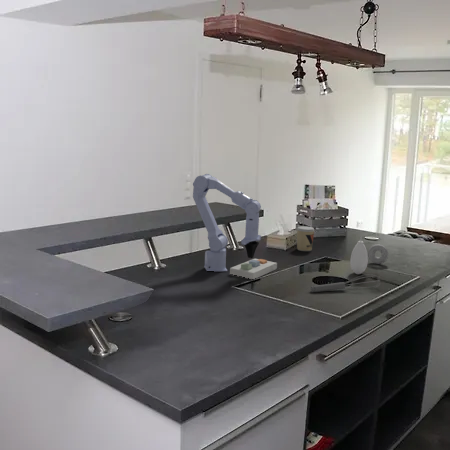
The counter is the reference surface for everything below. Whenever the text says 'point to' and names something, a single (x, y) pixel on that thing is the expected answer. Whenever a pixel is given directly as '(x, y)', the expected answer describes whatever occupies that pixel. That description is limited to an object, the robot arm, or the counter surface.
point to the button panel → (254, 270)
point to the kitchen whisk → (337, 286)
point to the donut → (383, 251)
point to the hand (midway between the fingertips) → (250, 257)
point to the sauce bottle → (359, 258)
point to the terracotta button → (262, 261)
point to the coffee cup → (305, 238)
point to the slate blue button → (254, 263)
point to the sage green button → (246, 266)
